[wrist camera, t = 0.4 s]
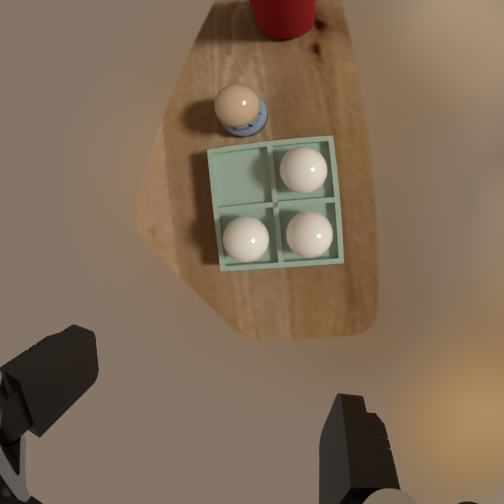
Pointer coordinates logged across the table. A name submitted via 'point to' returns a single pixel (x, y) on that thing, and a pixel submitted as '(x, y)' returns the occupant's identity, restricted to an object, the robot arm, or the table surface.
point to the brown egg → (237, 105)
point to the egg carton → (271, 199)
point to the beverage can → (284, 17)
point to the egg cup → (253, 126)
